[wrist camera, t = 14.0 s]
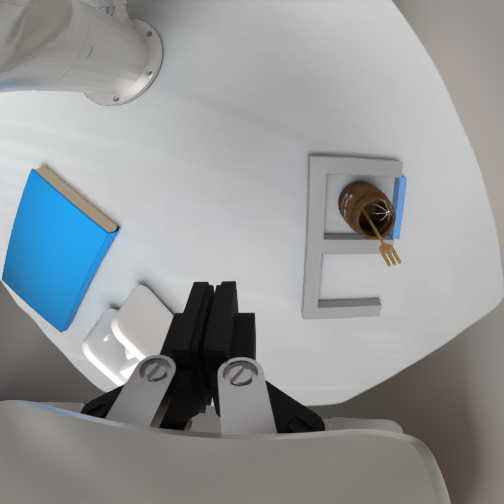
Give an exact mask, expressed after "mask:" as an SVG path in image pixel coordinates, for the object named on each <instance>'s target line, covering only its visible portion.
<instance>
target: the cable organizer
mask: <svg viewBox="0 0 504 504" xmlns="http://www.w3.org/2000/svg"><path fill="white" fill-rule="evenodd" d="M173 316H174V315H173V314H172V313H171V312H170V311H169V310H168V309H167V308H166V307H165V306H164V305H163V303H162V302H161V301H160V300H159V299H158V298H157V297H156V296H155V295H154V294H153V292H151V291H150V290H149V289H148V288H147V287H145V286H142V285H139V286H137V287H136V288H135V289H133V290H132V291H131V293H130V294H129V296H128V297H127V299H126V300H125V302H124V303H123V305H122V306H121V308H120V309H119V310H118V311H117V310H115V309H112V308H110V309H108V310H107V311H105V312H104V313H103V314H102V315H101V317H100V318H99V319H98V321H97V322H96V324H95V325H94V327H93V328H92V329H91V331H90V332H89V334H88V335H87V337H86V338H85V340H84V341H83V343H82V348H83V351H84V353H85V355H86V357H87V358H88V359H89V360H90V361H91V362H92V363H93V364H94V365H95V366H96V367H97V368H98V369H99V370H101V371H102V372H103V373H104V374H105V375H106V376H107V377H108V378H110V379H111V380H112V381H113V382H114V383H115V384H116V385H118V386H119V387H120V386H122V385H123V384H125V383H126V382H127V381H128V379H129V377H130V376H131V374H132V372H133V371H134V369H135V368H136V366H137V365H138V363H139V362H140V361H142V360H143V359H144V358H146V357H149V356H153V355H159V354H160V352H161V349H162V346H163V343H164V341H165V338H166V335H167V332H168V330H169V327H170V324H171V321H172V319H173Z"/></svg>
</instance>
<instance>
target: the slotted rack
mask: <svg viewBox="0 0 504 504" xmlns="http://www.w3.org/2000/svg"><path fill="white" fill-rule="evenodd" d="M402 164H403V162H400V161H397V160H388V159H376V158H363V157H346V156H324V155H308V194H307V225H306V247H305V266H304V283H303V298H302V311H301V312H302V318H303V319H332V318H354V317H372V316H379V314H380V310H381V306H382V305H381V303H380V301H379V300H378V298H369V299H345V300H318V297H319V287H320V276H321V265H322V254H381V252H380V250H379V247H380V246H381V245H382V244H381V242H380V240H379V239H377V240H370V239H367V238H365V237H363V236H361V235H360V234H324V223H325V204H326V180H327V174H347V175H367V176H383V177H395V186H394V196H393V207H394V208H395V209H394V210H395V214H396V220H395V224H394V226H393V228H392V230H391V231H390V232H389V235H386V236H385V237H383V238H382V239H383V241H384V242H385V243H387V244H391V245H392V246H393V243H394V239H399V236H400V229H401V222H402V214H403V206H404V198H405V188H406V177H404V176H402ZM384 253H385V254H387V253H386V252H384ZM390 253H391V254H392V251H390Z"/></svg>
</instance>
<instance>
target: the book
mask: <svg viewBox="0 0 504 504" xmlns="http://www.w3.org/2000/svg"><path fill="white" fill-rule="evenodd" d="M116 229H117V224H115V223H114V222H113V221H112V220H110V219H109V218H108V217H107V216H105V215H104V214H103V213H102V212H100V211H99V210H98V209H97V208H95V207H94V206H93V205H92V204H90V203H89V202H88V201H87V200H86V199H84V198H83V197H82V196H81V195H80V194H78V193H77V192H76V191H75V190H74V189H72V188H71V187H70V186H69V185H68V184H66V183H65V182H64V181H63V180H62V179H61V178H59V177H58V176H57V175H56V174H55V173H54V172H52V171H51V170H50V169H49V168H48V167H47V166H45V167H42V168H39V169H36V170H34V169H31V172H30V174H29V177H28V180H27V183H26V186H25V189H24V192H23V195H22V198H21V201H20V204H19V208H18V211H17V214H16V218H15V222H14V225H13V229H12V233H11V237H10V241H9V246H8V250H7V255H6V260H5V265H4V270H3V276H2V280H3V281H4V282H5V283H6V284H7V285H8V286H9V287H10V288H11V289H12V290H13V291H14V292H15V293H16V294H17V295H18V296H19V297H20V298H22V299H23V300H24V301H25V302H26V303H27V304H28V305H29V306H30V307H31V308H33V309H34V310H35V311H36V312H37V313H38V314H39V315H41V316H42V317H43V318H44V319H45V320H46V321H48V322H49V323H50V324H51V325H52V326H54V327H55V328H56V329H57V330H59V331H60V332H61V333H62V332H63V331H66V330H67V329H68V328H69V326H70V324H71V322H72V320H73V317H74V315H75V313H76V311H77V309H78V306H79V304H80V302H81V300H82V298H83V296H84V294H85V292H86V290H87V288H88V285H89V283H90V281H91V279H92V278H93V276H94V274H95V272H96V270H97V268H98V266H99V264H100V262H101V260H102V258H103V256H104V255H105V253H106V251H107V249H108V247H109V245H110V244H111V242H112V240H113V238H114V237H115V235H116V233H117V231H118V230H119V227H118V229H117V230H116ZM115 230H116V232H115ZM114 232H115V233H114Z"/></svg>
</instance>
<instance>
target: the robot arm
mask: <svg viewBox="0 0 504 504" xmlns="http://www.w3.org/2000/svg"><path fill="white" fill-rule="evenodd" d="M127 5H128V0H114V1H113V8H114V9H113V14H112V15H111V16H110V15H108V12H109V8H108V7H101V8H99V9H97V8H95V7H93V6H91V5H89V4H87V3H85V2H83V1H81V0H0V93H2V92H10V91H28V90H37V91H72V92H83V93H84V94H85V95H86V96H87V98H89V99H90V100H92V101H93V102H95V103H98V104H100V105H107V106H114V105H121V104H124V103H127V102H130V101H131V100H133V99H135V98H137V97H138V96H139V95H141V94H142V93H143V92H144V91H145V90H146V89H147V88H148V87H149V86H150V85H151V83H152V82H153V80H154V79H155V77H156V75H157V73H158V71H159V69H160V65H161V62H162V54H163V51H162V43H161V40H160V37H159V35H158V34H157V32H156V31H155V30H154V29H153V28H152V27H151V26H150V25H148V24H147V23H145V22H143V21H141V20H138V19H131V18H129V13H126V11H127ZM151 34H152V35H151ZM150 35H151V36H150ZM150 72H152V74H151V75H150ZM118 98H119V100H118ZM212 398H213V402H214V405H215V409H216V414H217V415H218V416H219V417H220V418H221V426H222V434H221V433H205V432H192V431H190V430H191V427H192V424H193V418H192V417H194V416H196V415H197V414H199V413H205V410H206V405H209V406H210V405H211V402H212ZM0 504H451V502H450V499H449V495H448V492H447V489H446V485H445V482H444V480H443V477H442V475H441V472H440V469H439V467H438V465H437V463H436V460H435V459H434V457H433V455H432V453H431V452H430V450H429V449H428V448H427V446H426V445H425V444H424V443H422V442H421V441H420V440H418V439H417V438H414V437H412V436H409V435H406V434H403V431H402V428H401V427H400V426H399V425H398V424H397V423H395V422H393V421H390V420H378V419H377V420H376V419H353V418H339V417H332V420H329V419H321V417H319V416H318V415H317V414H316V413H314V412H313V411H311V410H310V409H308V408H306V407H305V406H303V405H302V404H300V403H299V402H297V401H296V400H294V399H293V398H291V397H290V396H288V395H287V394H285V393H284V392H282V391H281V390H279V389H278V388H276V387H275V386H273V385H272V384H270V383H269V382H267V381H266V380H265V377H264V373H263V369H262V367H261V365H260V364H259V363H258V362H257V361H256V329H255V313H238V301H237V289H236V282H235V281H226V282H222V283H221V285H217V286H216V290H215V294H214V287H213V285H209V283H208V282H194V284H193V287H192V289H191V292H190V295H189V298H188V301H187V304H186V307H185V310H184V313H175V314H174V316H173V319H172V321H171V324H170V327H169V330H168V332H167V335H166V338H165V341H164V343H163V346H162V349H161V352H160V354H159V355H153V356H149V357H146V358H144V359H143V360H142V361H140V362H139V363H138V365H137V366H136V368H135V369H134V371H133V372H132V374H131V376H130V377H129V379H128V381H127V382H126V383H125V384H123V385H122V386H120V387H118V388H116V389H114V390H112V391H110V392H108V393H106V394H104V395H102V396H100V397H98V398H96V399H94V400H92V401H90V402H89V403H87V404H86V405H85V406H83V404H82V403H56V402H41V403H35V402H30V401H20V400H10V401H2V402H0Z"/></svg>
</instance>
